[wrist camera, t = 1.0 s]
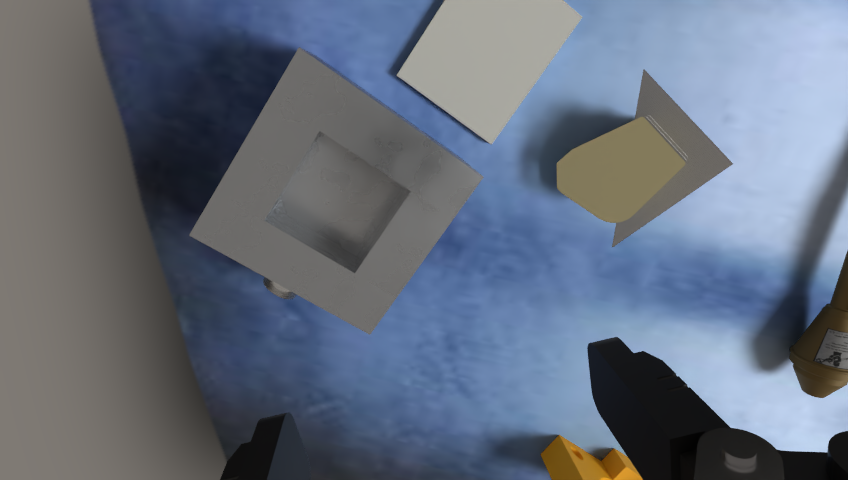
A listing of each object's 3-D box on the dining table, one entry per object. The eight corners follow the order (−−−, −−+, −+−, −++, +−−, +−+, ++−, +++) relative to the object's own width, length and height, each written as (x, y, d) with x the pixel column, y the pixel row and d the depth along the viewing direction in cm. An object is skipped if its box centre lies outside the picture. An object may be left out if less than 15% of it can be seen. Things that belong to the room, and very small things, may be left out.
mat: (485, -64, 29) (487, -67, 29) (578, 18, 31) (582, 17, 31) (396, 75, 31) (396, 75, 31) (489, 143, 33) (491, 144, 33)
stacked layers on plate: (642, 68, 33) (632, 62, 28) (732, 163, 32) (737, 174, 27) (537, 163, 38) (514, 171, 34) (611, 248, 37) (597, 268, 33)
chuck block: (315, 55, 30) (299, 47, 24) (462, 158, 34) (483, 177, 27) (212, 228, 33) (172, 263, 27) (356, 308, 36) (352, 358, 30)
